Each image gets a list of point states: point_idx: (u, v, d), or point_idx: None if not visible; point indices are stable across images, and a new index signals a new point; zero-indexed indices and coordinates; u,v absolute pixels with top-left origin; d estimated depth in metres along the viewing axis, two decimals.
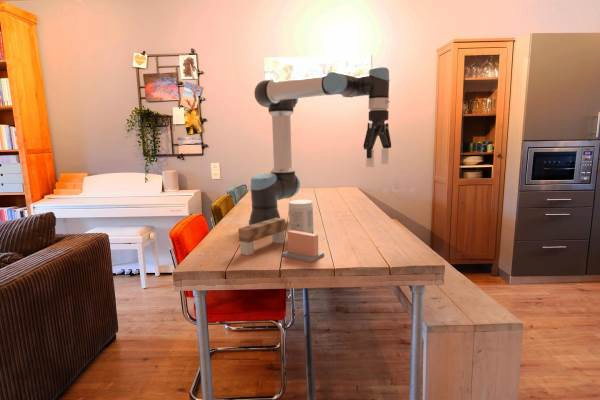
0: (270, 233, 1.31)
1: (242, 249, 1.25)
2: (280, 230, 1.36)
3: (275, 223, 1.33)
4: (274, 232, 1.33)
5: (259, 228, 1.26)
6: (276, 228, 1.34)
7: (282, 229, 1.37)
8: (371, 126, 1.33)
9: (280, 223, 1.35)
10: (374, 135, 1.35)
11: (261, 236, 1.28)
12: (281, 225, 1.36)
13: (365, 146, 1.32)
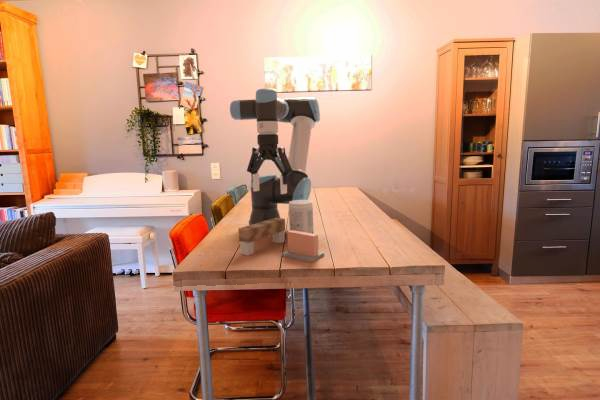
0: (270, 233, 1.31)
1: (242, 249, 1.25)
2: (280, 230, 1.36)
3: (275, 223, 1.33)
4: (274, 232, 1.33)
5: (259, 228, 1.26)
6: (276, 228, 1.34)
7: (282, 229, 1.37)
8: None
9: (280, 223, 1.35)
10: None
11: (261, 236, 1.28)
12: (281, 225, 1.36)
13: None
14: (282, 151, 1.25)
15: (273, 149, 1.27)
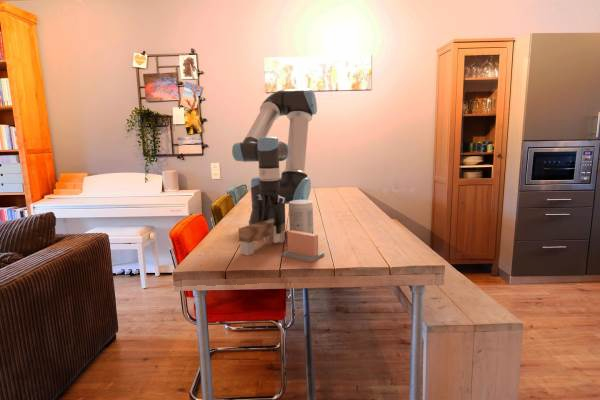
0: (270, 233, 1.31)
1: (242, 249, 1.25)
2: None
3: None
4: None
5: (259, 228, 1.26)
6: None
7: (282, 229, 1.37)
8: None
9: None
10: None
11: (261, 236, 1.28)
12: (281, 225, 1.36)
13: None
14: (282, 202, 1.29)
15: (275, 196, 1.30)
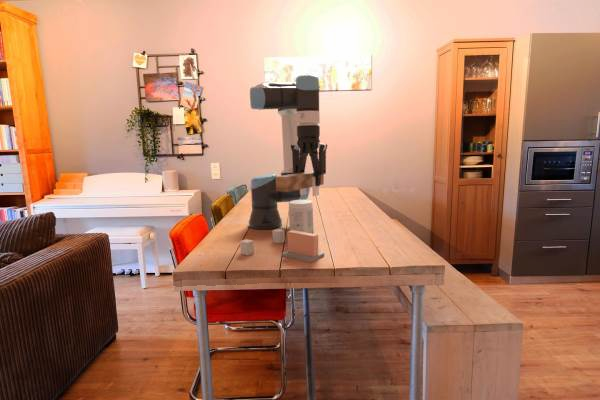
0: (309, 185, 1.17)
1: (242, 249, 1.25)
2: None
3: None
4: None
5: (298, 177, 1.12)
6: None
7: (321, 183, 1.23)
8: None
9: None
10: None
11: (300, 186, 1.13)
12: None
13: None
14: (323, 149, 1.15)
15: (315, 142, 1.16)
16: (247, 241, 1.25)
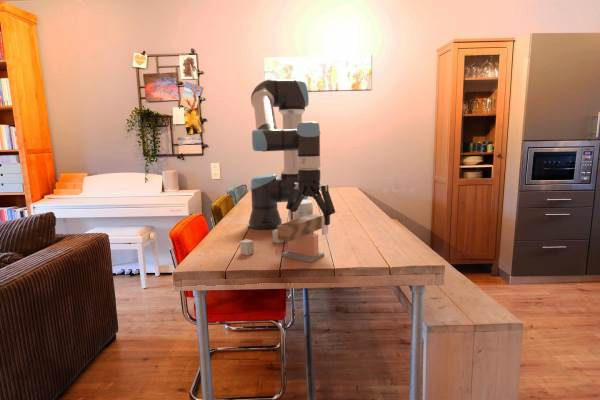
0: (310, 230, 1.20)
1: (242, 249, 1.25)
2: (319, 227, 1.24)
3: (315, 219, 1.22)
4: (314, 229, 1.22)
5: (299, 225, 1.15)
6: (316, 225, 1.22)
7: (321, 226, 1.25)
8: None
9: (319, 220, 1.24)
10: None
11: (301, 234, 1.16)
12: (321, 222, 1.25)
13: None
14: (326, 189, 1.17)
15: (316, 186, 1.18)
16: (247, 241, 1.25)
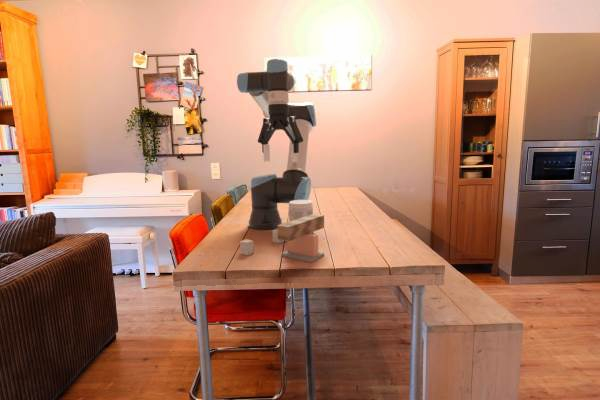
0: (310, 231, 1.20)
1: (242, 249, 1.25)
2: (319, 227, 1.24)
3: (315, 220, 1.22)
4: (314, 229, 1.22)
5: (299, 225, 1.15)
6: (316, 225, 1.22)
7: (321, 227, 1.25)
8: None
9: (319, 220, 1.24)
10: None
11: (301, 234, 1.16)
12: (321, 222, 1.25)
13: None
14: (293, 120, 1.29)
15: (284, 118, 1.30)
16: (247, 241, 1.25)
